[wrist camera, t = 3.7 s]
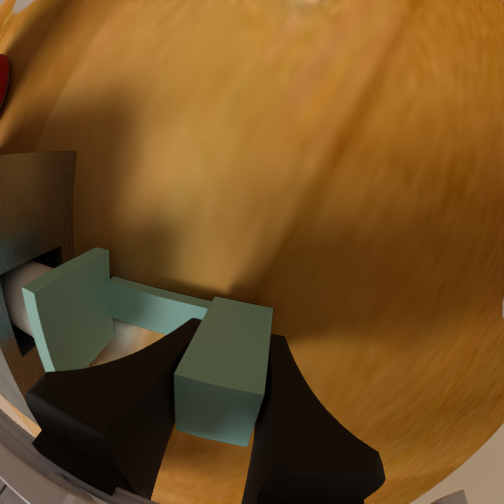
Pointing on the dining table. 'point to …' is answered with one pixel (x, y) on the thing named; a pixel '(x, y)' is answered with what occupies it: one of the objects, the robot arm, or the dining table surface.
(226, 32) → the dining table surface
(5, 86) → the beverage can
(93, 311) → the teal bent bracket
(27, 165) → the housing
